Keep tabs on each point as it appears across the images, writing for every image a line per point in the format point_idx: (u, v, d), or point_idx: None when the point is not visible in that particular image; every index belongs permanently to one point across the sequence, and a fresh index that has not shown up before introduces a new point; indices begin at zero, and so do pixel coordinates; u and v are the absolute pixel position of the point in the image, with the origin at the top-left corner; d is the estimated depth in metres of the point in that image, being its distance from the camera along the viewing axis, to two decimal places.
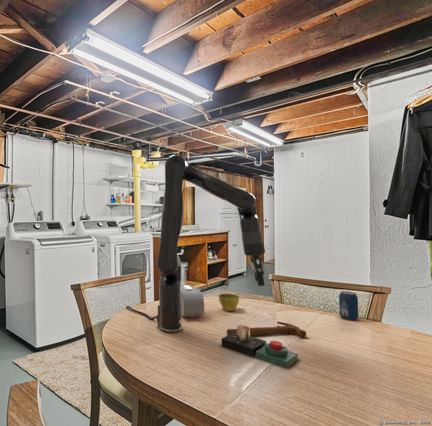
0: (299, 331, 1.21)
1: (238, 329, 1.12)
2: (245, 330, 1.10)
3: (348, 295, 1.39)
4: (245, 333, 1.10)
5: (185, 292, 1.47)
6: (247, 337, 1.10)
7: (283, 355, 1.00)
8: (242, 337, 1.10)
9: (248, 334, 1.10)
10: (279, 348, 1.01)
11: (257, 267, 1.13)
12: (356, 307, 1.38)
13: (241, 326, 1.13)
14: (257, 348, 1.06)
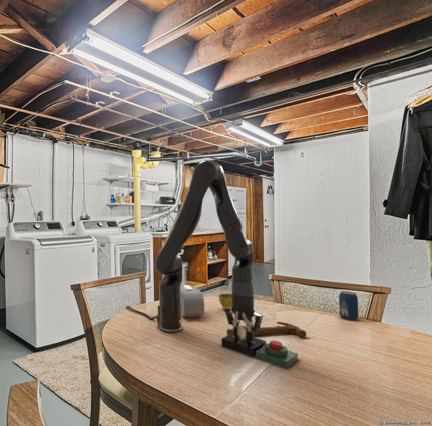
0: (299, 331, 1.21)
1: (238, 329, 1.12)
2: (245, 330, 1.10)
3: (348, 295, 1.39)
4: (245, 333, 1.10)
5: (185, 292, 1.47)
6: (247, 337, 1.10)
7: (283, 355, 1.00)
8: (242, 337, 1.10)
9: None
10: (279, 348, 1.01)
11: (258, 324, 1.07)
12: (356, 307, 1.38)
13: (241, 326, 1.13)
14: (257, 348, 1.06)
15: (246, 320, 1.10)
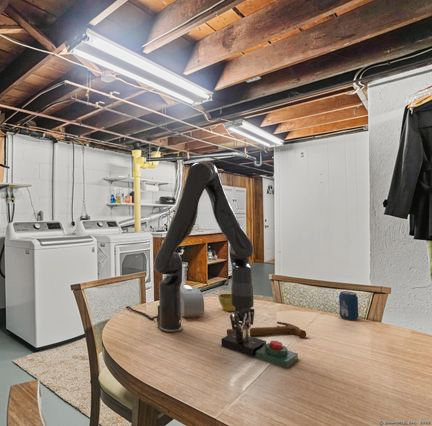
0: (299, 331, 1.21)
1: (247, 330, 1.10)
2: None
3: (348, 295, 1.39)
4: None
5: (185, 292, 1.47)
6: None
7: (283, 355, 1.00)
8: None
9: None
10: (279, 348, 1.01)
11: None
12: (356, 307, 1.38)
13: None
14: (257, 348, 1.06)
15: (249, 318, 1.12)
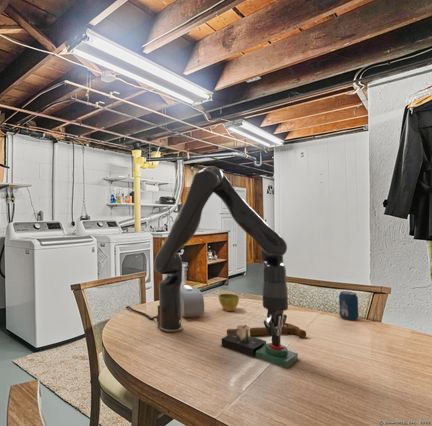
0: (299, 331, 1.21)
1: (247, 330, 1.10)
2: None
3: (348, 295, 1.39)
4: None
5: (185, 292, 1.47)
6: None
7: (283, 355, 1.00)
8: None
9: None
10: None
11: None
12: (356, 307, 1.38)
13: (241, 327, 1.12)
14: (257, 348, 1.06)
15: (282, 322, 1.03)
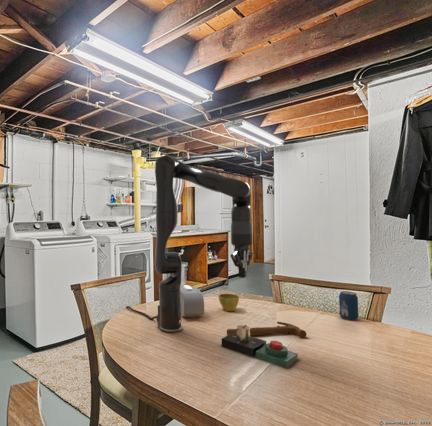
0: (299, 331, 1.21)
1: (247, 330, 1.10)
2: None
3: (348, 295, 1.39)
4: None
5: (185, 292, 1.47)
6: None
7: (283, 355, 1.00)
8: None
9: None
10: (279, 348, 1.01)
11: None
12: (356, 307, 1.38)
13: (241, 327, 1.12)
14: (257, 348, 1.06)
15: (247, 257, 1.17)
